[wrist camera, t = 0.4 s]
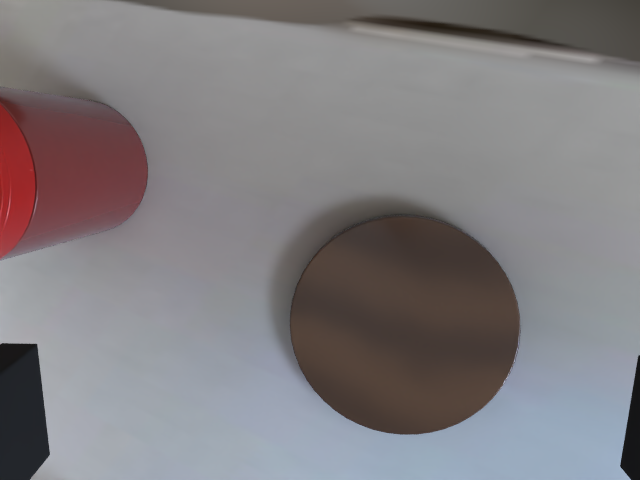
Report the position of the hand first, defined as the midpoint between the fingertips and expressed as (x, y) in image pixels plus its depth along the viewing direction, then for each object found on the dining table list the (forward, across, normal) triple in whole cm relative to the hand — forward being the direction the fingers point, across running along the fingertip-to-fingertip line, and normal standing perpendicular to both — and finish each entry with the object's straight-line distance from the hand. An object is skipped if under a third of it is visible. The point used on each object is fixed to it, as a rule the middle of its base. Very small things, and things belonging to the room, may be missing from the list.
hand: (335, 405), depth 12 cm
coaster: (+19, +4, -6) cm, 20 cm away
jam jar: (+22, -15, +3) cm, 26 cm away
